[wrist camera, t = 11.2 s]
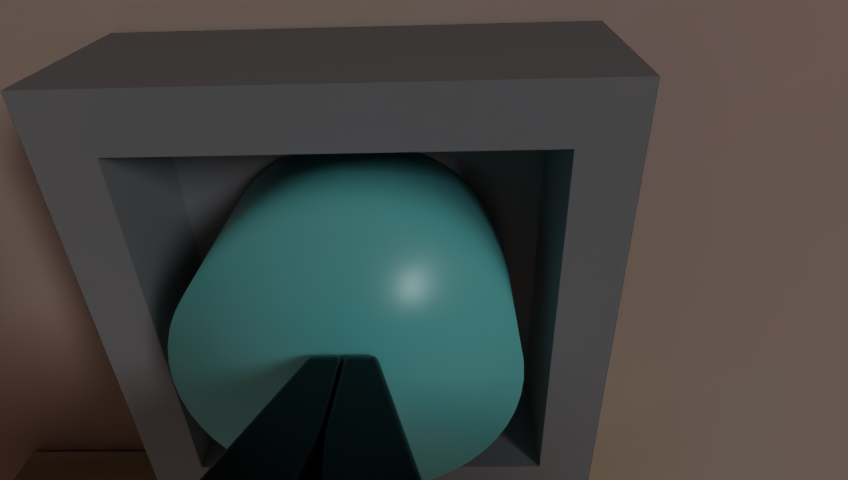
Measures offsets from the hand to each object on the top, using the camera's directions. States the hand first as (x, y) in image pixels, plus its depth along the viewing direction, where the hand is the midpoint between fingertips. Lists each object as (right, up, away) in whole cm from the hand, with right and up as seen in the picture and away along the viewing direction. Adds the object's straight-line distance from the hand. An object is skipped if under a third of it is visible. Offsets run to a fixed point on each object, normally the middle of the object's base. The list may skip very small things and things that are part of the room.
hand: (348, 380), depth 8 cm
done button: (0, +1, +2) cm, 2 cm away
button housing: (0, +2, +3) cm, 3 cm away
